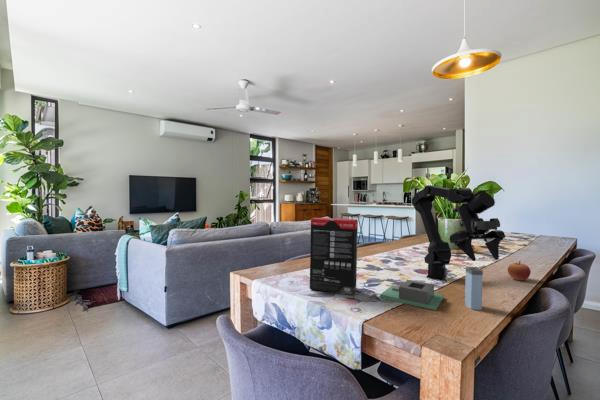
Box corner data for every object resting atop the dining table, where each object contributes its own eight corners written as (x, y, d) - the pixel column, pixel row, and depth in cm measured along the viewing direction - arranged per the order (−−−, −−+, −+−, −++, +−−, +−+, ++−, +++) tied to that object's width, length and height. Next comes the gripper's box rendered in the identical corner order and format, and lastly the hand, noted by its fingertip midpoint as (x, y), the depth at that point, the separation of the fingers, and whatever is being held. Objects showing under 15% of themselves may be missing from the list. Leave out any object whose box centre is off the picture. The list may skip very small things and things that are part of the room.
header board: (380, 297, 101) (380, 283, 101) (392, 288, 112) (392, 274, 111) (435, 310, 91) (436, 293, 90) (443, 298, 101) (443, 283, 101)
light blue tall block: (471, 309, 91) (471, 270, 91) (464, 304, 96) (465, 266, 95) (481, 310, 91) (482, 270, 91) (475, 304, 95) (476, 267, 95)
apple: (520, 276, 128) (520, 258, 128) (535, 282, 120) (535, 263, 120) (502, 276, 128) (503, 258, 128) (516, 282, 120) (517, 263, 120)
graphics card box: (357, 290, 109) (358, 218, 108) (354, 296, 102) (355, 219, 102) (314, 285, 115) (314, 216, 114) (308, 290, 108) (309, 218, 107)
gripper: (462, 209, 99) (479, 254, 91) (508, 209, 102) (528, 252, 95) (442, 222, 108) (456, 263, 101) (485, 221, 112) (501, 261, 105)
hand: (485, 260), depth 100 cm, fingers open, 9 cm apart
